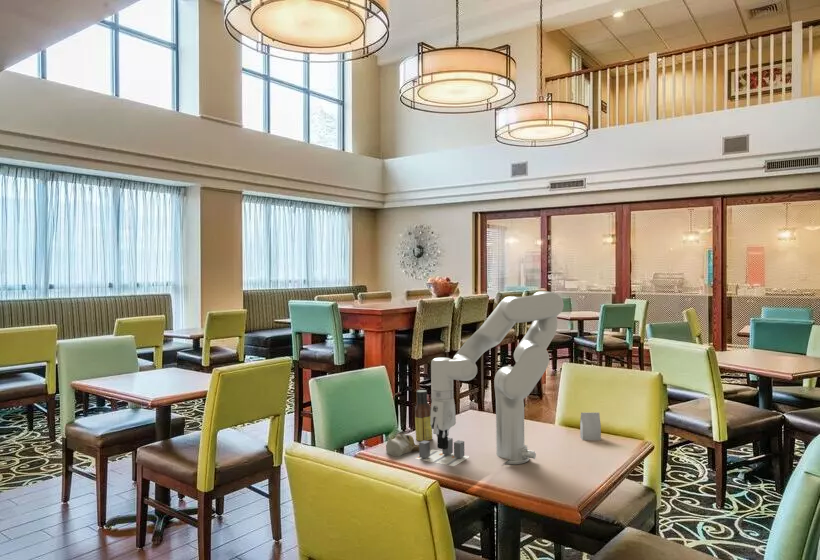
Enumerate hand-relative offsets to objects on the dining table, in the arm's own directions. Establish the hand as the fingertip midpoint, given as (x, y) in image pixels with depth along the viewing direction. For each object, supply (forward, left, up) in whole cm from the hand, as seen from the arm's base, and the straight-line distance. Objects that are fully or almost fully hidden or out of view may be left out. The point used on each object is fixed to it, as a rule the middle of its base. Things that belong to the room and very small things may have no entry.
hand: (442, 448), depth 192 cm
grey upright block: (-36, -52, -5) cm, 63 cm away
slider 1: (+5, +3, -3) cm, 7 cm away
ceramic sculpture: (+16, +1, -5) cm, 17 cm away
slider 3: (-5, -3, -3) cm, 6 cm away
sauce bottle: (+16, -15, -5) cm, 22 cm away
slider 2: (0, -3, -3) cm, 5 cm away
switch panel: (0, 0, -5) cm, 5 cm away
